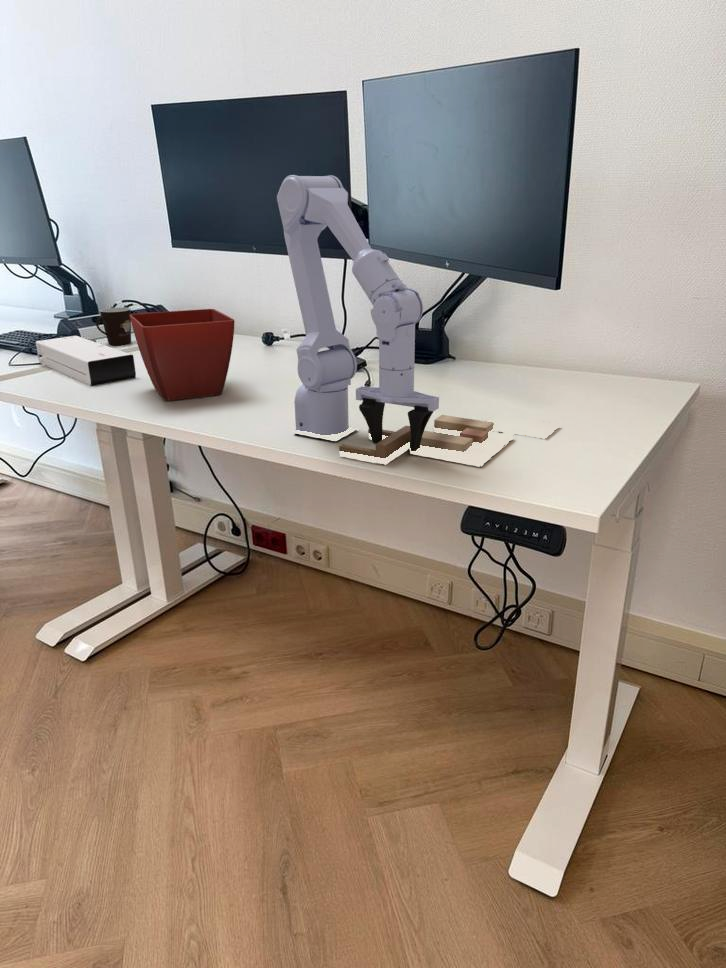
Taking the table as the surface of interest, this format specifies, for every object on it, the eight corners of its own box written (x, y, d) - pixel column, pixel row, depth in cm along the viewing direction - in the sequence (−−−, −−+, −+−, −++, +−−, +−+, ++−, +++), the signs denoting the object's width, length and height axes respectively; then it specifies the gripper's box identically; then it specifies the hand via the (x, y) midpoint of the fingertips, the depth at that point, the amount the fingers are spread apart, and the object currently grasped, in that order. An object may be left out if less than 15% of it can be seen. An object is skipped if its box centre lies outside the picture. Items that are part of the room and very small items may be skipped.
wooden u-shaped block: (406, 454, 120) (406, 437, 119) (444, 428, 133) (445, 413, 132) (480, 467, 114) (481, 450, 113) (513, 439, 127) (514, 423, 126)
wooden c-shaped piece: (339, 457, 119) (338, 437, 118) (371, 438, 128) (371, 419, 127) (384, 466, 115) (385, 445, 114) (415, 445, 124) (415, 426, 123)
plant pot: (219, 377, 171) (213, 307, 164) (241, 397, 155) (235, 319, 149) (138, 387, 164) (128, 313, 157) (153, 408, 148) (142, 327, 141)
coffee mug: (128, 339, 216) (123, 306, 212) (139, 344, 210) (135, 309, 206) (90, 345, 209) (84, 310, 205) (101, 349, 203) (95, 314, 199)
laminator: (136, 379, 172) (133, 354, 169) (87, 388, 164) (83, 362, 162) (80, 357, 195) (77, 335, 193) (35, 365, 187) (30, 341, 185)
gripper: (345, 366, 115) (347, 445, 120) (426, 376, 108) (424, 460, 113) (367, 358, 120) (367, 434, 125) (445, 367, 113) (442, 447, 119)
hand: (395, 445), depth 120 cm, fingers open, 7 cm apart
